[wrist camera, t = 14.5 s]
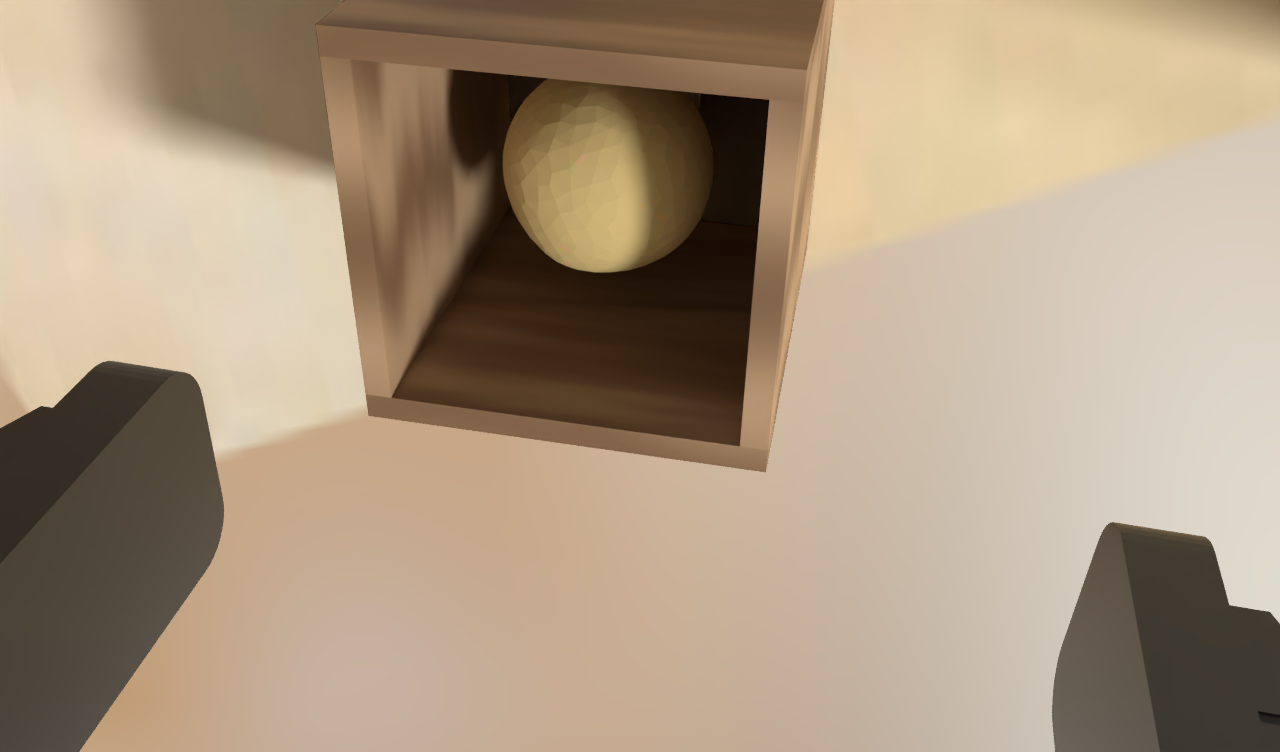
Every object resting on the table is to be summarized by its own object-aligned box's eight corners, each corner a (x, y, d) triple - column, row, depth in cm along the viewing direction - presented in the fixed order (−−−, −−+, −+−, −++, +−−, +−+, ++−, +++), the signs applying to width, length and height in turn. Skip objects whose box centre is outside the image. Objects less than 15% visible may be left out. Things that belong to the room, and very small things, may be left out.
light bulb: (600, 183, 46) (528, 327, 38) (535, 21, 43) (441, 139, 35) (764, 142, 43) (724, 285, 35) (709, -33, 40) (651, 81, 32)
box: (476, -109, 40) (315, 24, 30) (843, -82, 39) (806, 70, 28) (494, 216, 47) (368, 415, 37) (806, 252, 46) (765, 472, 35)
